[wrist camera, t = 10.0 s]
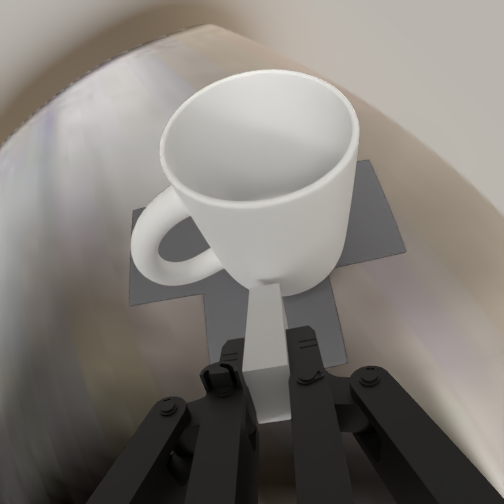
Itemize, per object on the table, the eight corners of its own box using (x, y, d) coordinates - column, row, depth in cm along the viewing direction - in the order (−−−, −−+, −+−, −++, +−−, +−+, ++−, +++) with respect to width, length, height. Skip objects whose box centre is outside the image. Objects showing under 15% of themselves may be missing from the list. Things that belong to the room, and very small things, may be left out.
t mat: (136, 391, 19) (132, 391, 19) (135, 213, 25) (133, 210, 25) (429, 341, 17) (432, 339, 17) (368, 163, 24) (368, 159, 23)
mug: (205, 356, 19) (110, 309, 10) (156, 253, 23) (73, 163, 14) (369, 255, 20) (403, 140, 11) (298, 171, 24) (284, 52, 15)
